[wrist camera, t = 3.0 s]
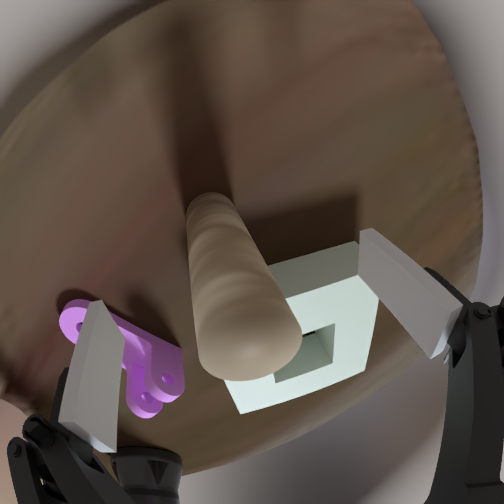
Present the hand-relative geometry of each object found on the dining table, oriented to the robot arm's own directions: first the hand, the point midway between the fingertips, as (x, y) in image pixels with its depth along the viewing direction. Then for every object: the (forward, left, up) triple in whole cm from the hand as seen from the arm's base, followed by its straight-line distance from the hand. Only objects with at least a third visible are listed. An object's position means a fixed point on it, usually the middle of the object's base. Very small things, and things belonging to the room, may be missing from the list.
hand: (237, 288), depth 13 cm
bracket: (-13, -10, -11) cm, 20 cm away
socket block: (+5, -14, -10) cm, 18 cm away
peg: (0, 0, -10) cm, 10 cm away
